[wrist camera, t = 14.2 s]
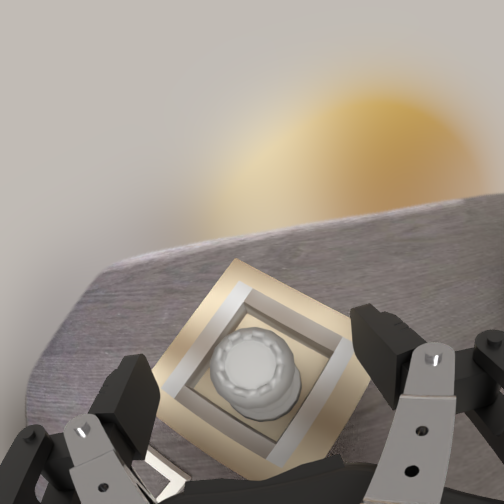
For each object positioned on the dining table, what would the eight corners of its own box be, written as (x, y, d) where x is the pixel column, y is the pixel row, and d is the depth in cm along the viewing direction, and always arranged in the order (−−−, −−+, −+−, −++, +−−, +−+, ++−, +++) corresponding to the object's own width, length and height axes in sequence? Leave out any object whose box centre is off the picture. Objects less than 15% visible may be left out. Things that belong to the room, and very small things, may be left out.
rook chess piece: (314, 369, 17) (334, 333, 10) (280, 434, 15) (276, 446, 8) (248, 339, 19) (225, 285, 12) (213, 400, 17) (165, 384, 10)
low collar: (119, 418, 23) (111, 418, 22) (191, 477, 20) (186, 480, 19) (79, 474, 20) (71, 475, 19) (144, 532, 17) (137, 536, 16)
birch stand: (247, 300, 29) (231, 242, 20) (361, 362, 24) (400, 329, 16) (172, 404, 24) (118, 392, 15) (288, 478, 20) (292, 511, 11)
